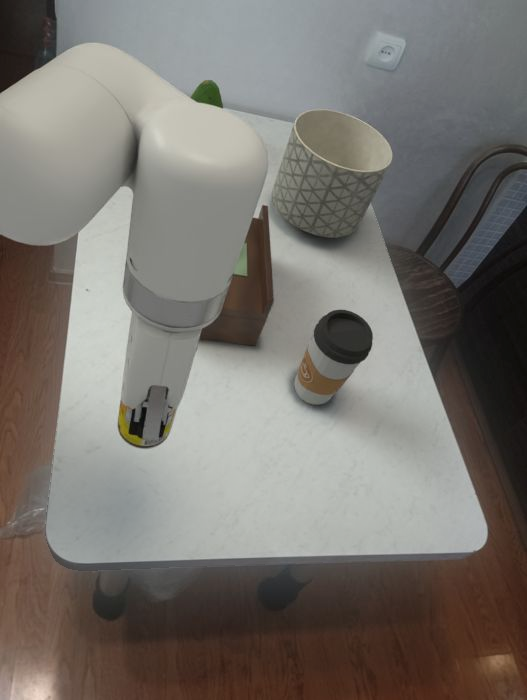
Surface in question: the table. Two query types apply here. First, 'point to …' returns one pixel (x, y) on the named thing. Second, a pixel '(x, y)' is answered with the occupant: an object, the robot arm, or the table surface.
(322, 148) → the planter
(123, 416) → the supplement bottle
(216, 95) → the fruit
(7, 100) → the robot arm
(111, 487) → the table surface
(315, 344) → the coffee cup
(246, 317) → the shelf
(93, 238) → the table surface
